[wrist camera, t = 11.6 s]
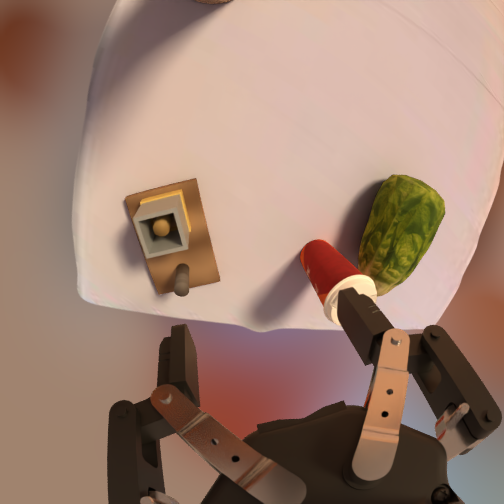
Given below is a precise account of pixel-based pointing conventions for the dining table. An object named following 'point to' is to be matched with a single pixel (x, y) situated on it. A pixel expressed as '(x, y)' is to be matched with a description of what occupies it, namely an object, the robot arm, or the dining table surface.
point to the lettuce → (399, 230)
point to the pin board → (186, 261)
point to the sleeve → (177, 234)
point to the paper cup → (333, 275)
